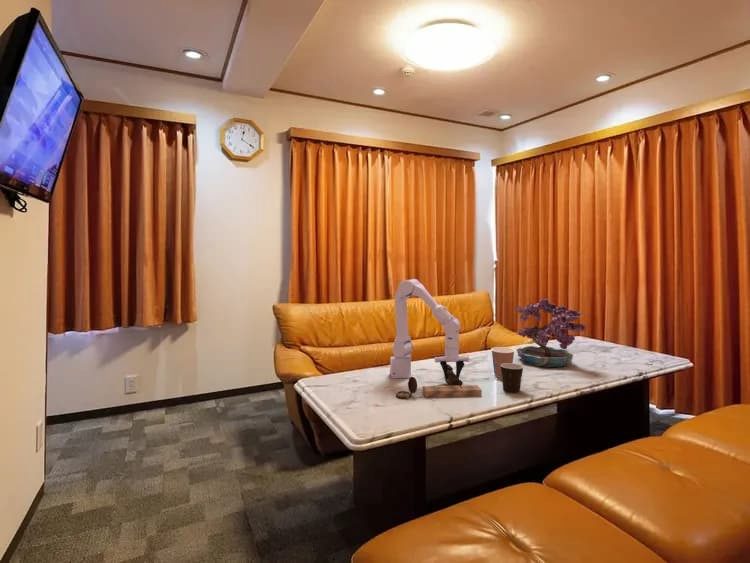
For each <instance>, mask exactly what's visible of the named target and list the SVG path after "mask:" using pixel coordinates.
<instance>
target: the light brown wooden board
mask: <svg viewBox="0 0 750 563" xmlns="http://www.w3.org/2000/svg"><path fill="white" fill-rule="evenodd" d="M482 391H483V390H482V389H481V388H480V387H479V386H478V384H465V385H464V384H463V385H454V386H450V385H423V386H422V394H423V396H424V398H426V399H427V398H458V397H459V398H462V397H463V398H464V397H468V398H469V397H482V394H483V393H482Z"/></svg>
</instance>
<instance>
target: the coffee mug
mask: <svg viewBox="0 0 750 563" xmlns="http://www.w3.org/2000/svg"><path fill="white" fill-rule="evenodd" d="M523 370H524V366H523V365H521V364H518V363H514V362H513V363H504V364H501V373H502V378H501V380H502V381H501V382H502V390H503V391H504V392H506V393H510V394H517V393H520V392H521V385H522V378H523V373H524V372H523Z"/></svg>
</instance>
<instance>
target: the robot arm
mask: <svg viewBox="0 0 750 563" xmlns="http://www.w3.org/2000/svg"><path fill="white" fill-rule="evenodd" d="M411 296H414V297H419V298H420V299H421V300H422V301H423V302H424V303H425V304H426V305H427V306H428V307H429V308H430V309H431V310H432V311H431V312H432V315H433V316H434V318H435V319H436V320H437V321H438V322H439V323H440V324H441V326H443V327H442V328H443V331H444V332H445V336H444V337H445V338H444V342H445V343H444V344H445V345H444V349H445V350H444V351H445V352H444V356H434V363H437V364H439V365H440V366H441V368H442V371H443V376H444V379H445V380H447V368H448V365H447V364H448V363H455V368H456V369H455V370H456V372H455V375H456V376H458V379H459V380H460V375H461V372H462V370H463V368H464V366H465V363H470V357H469V356H461V355H460V356H459V354H460V353H459V352H460V333H459V332H460V331H459V330H460V328H461V326H462V325H461V322H460V321H459V318H456V317H455V316H454V315H452V314H451V313H450V312H449V311H448V310H447V309H448V308H447V307H446V306H444V305H443V304H439V303H438V302H437V301H436V300H435V299H434V298H433V296H431V294H430V293H429V291H428V290H427V289H426V288H425V286H424V285H423V284H422V283H421V282H420V281H419V280H418V279H416V278H412V279H404V280H403V281H401V282H400V283H399V284H398V285H397V290H396V291H395V294H394V296H393V297H394V299H393V300H394V312H395V313H394V317H395V330H396V332H395V333H396V336H395V338H394V340H393V346H392V353H393V355H394V356H390V363H389V364H390V365H389V367H390V368H389V374H390V376H391V379H407V378H410V377H414V376H413V374H412V354H411V353H412V352H413V350H414V345H413V342H412V339H411V338H412V337H411V336H410V335H409V322H408V303H407V300H408V299H409V298H410V297H411Z"/></svg>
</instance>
